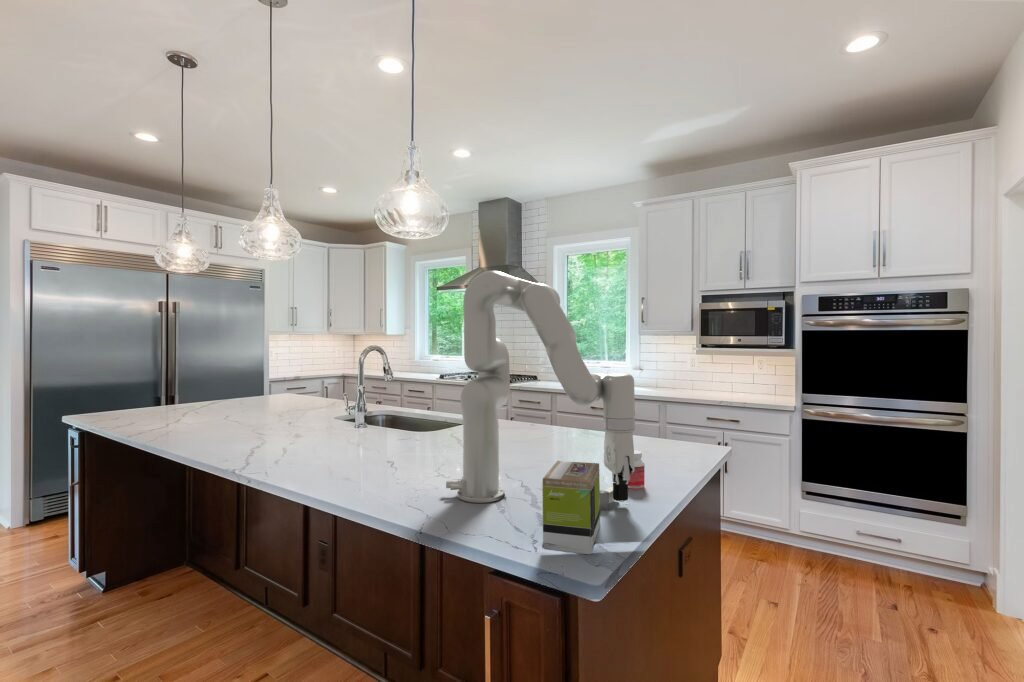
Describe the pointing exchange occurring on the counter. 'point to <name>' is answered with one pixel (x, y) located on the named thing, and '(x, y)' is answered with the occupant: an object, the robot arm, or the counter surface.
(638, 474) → the pill bottle
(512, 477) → the counter surface
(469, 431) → the robot arm
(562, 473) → the tea box
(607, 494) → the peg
